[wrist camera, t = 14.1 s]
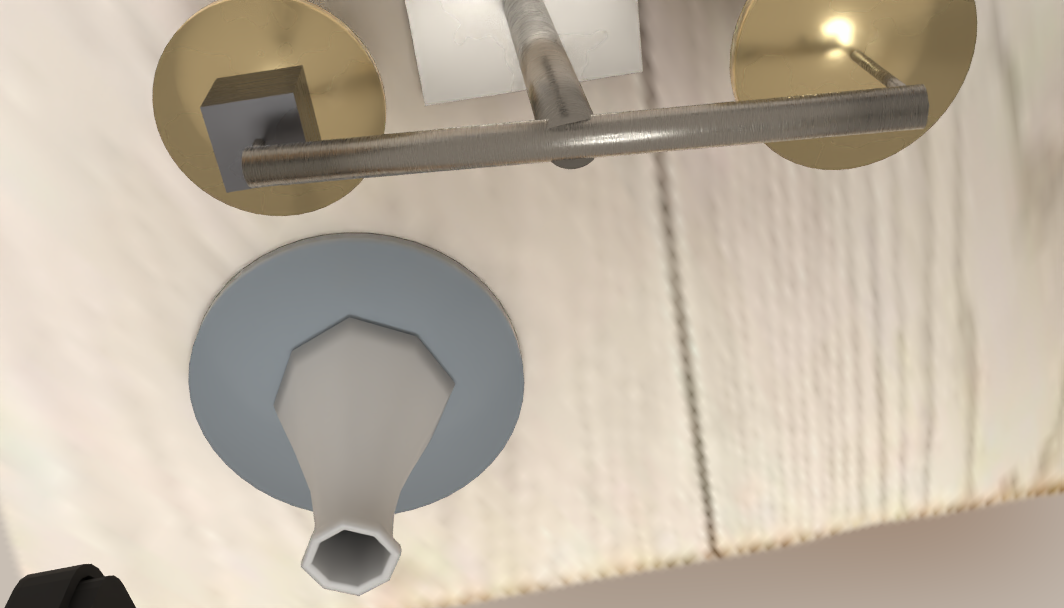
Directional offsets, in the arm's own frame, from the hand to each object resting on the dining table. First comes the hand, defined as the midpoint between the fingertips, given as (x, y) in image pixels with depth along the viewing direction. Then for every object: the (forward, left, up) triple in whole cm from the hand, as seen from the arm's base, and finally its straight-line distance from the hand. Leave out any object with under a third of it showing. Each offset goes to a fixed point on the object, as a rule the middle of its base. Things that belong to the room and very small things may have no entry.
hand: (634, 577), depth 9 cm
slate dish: (+8, +17, -30) cm, 35 cm away
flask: (+8, +17, -29) cm, 34 cm away
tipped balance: (-1, +2, -30) cm, 30 cm away
